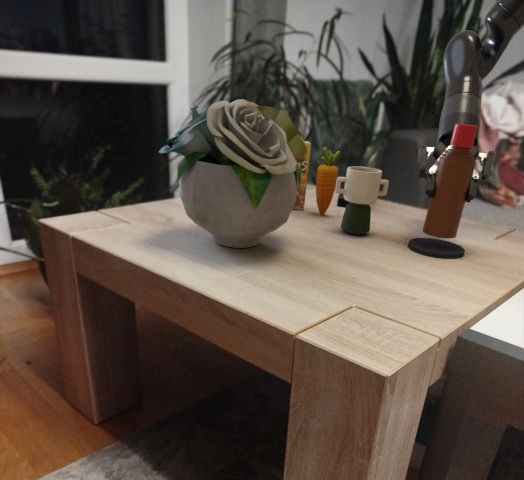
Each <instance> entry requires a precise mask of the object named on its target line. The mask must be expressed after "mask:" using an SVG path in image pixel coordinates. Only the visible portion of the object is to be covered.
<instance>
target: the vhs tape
mask: <svg viewBox="0 0 524 480" xmlns="http://www.w3.org/2000/svg"><path fill="white" fill-rule="evenodd" d="M341 189H344V187H341ZM343 195H344V194H339V193H338V197H337V203H336V204H337V205H336V206H337V207H343V208H346V206H347V204H348V203H349V202H348V201H346V200H345V199H344V196H343Z"/></svg>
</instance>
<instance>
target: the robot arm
mask: <svg viewBox="0 0 524 480" xmlns="http://www.w3.org/2000/svg"><path fill="white" fill-rule="evenodd" d="M484 23H485V24H484V25H485V29H486V35H485V38H484V40H483V41H482V39H481V37H480V36H479V35H478V34H477V33H476V32H475V31H473V30H469V29H466V30H465V29H464V30H461V31H459V32H457V33H456V34H454V36H452V38H451V39H450V40H449V41H448V43H447V45H446V47H445V49H444V53H443V60H442V66H443V77H444V84H445V92H444V100H443V107H442V109H441V113H440V116H439V117H440V118H439V122H438V131H437V139H436V144H435V145H434V146H428V145H427V144H426V143H422V144H420V147H419V150H418V152H417V153H418V154H417V171H416V173H417V174H416V175H417V178H419V179H422V178H423V179H425V185H424V194H425V195H427V196H426V198H428V199H430V198H431V197H432V194H433V190H434V184H435V177H436V172H437V168H438V163H439V159H440V157H441V156H442V154H445V151H448V149H451V146H452V145H450V142H451V138H452V133H453V129H454V126H455V124H469V125H476V126H478V127H477V133H476V136H475V140H474V144H473V147H472V148H470V151H471V152H472V154H473V155H474V156H473V157H474V158H475V161H476V162H477V160H478V161H479V165H480V167H482V168H481V171H480V173H479V172H478V170H477V167H476V165H475V167H474V171H473V175H472V178H471V182H470V186H469V190H468V193H467V197H466V201H465V203H471V201H473V200H474V199H475V197H476V196H477V192H478V185H480V186H485V184H487V181H488V179H489V177H490V174H491V170H492V167H493V163H494V158H495V152H494V151H493V150H489V151H488V152H487V153H486V152H481V151H480V149H479V147H478V143H479V136H480V135H479V134H480V127H481V119H482V100H483V90H484V85H483V80H485V79H486V78H487V77H488V76H489V75H490V73H492V71H493V69H494V68H495V67H496V65H497V64H498V62H499V61H500V59H501V57H502V56H503V54H504V52H505V51H506V50H507V48H508V46H509V45H510V43H511V41H512V40H513V38H514V37H515V35H517V34H518V33H519V31H520V30H522V28H524V0H497V2H495V4H494V5H493V6H492V7H491V8H490V9H489V10H488V12H487V13H486V15H485V17H484ZM431 155H432V156H433V158H434V159H435V162H434V164H433V165H432V166H431V167H430V168H428V167H427V160H428V159H429V158H430V156H431Z"/></svg>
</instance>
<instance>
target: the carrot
mask: <svg viewBox="0 0 524 480" xmlns="http://www.w3.org/2000/svg"><path fill="white" fill-rule="evenodd" d="M321 150H322V153H323V156H322V157H321V160H322V161H323V164H320V165H319V166H318V168H317V171H316V181H315V199H316V200H315V201H316V206H317V209H318V212H319V214H320V216H324V215H325V214H326V212H327V211H328V209H329V207H330V205H331V203H332V200H333V196H334V194H335V187H336V180H337V178H338V174H339V168H338V166H336V165H334V163H335V161H336V160H337V159H338V157H339V156H340V155H341V154H342V153H341V151H340V150H337V151H336V152H335V153H332V151H331V150H330V149H327V147H326V146H325V147H323V148H322V149H321Z"/></svg>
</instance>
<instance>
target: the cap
mask: <svg viewBox="0 0 524 480" xmlns="http://www.w3.org/2000/svg"><path fill="white" fill-rule="evenodd" d="M477 127H478V126H476V125H469V124H455V126H454V129H453V133H452V138H451V142H450V145H452V146H456V147H465V148H472V147H473V144H474V140H475V136H476V133H477Z"/></svg>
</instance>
